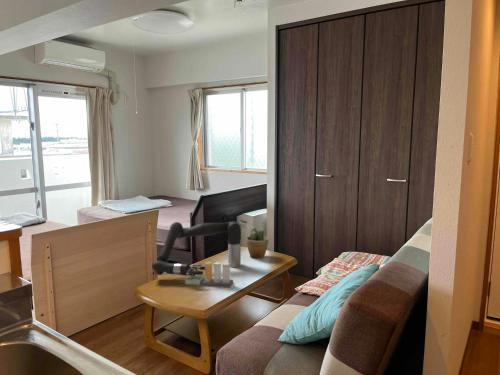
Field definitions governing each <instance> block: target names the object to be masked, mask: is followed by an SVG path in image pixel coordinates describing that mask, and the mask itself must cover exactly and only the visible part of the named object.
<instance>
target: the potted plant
mask: <svg viewBox="0 0 500 375" xmlns="http://www.w3.org/2000/svg"><path fill="white" fill-rule="evenodd" d="M264 234H265V229H264V228H262V227H261V228H259V230H257V227H256V226H252V227H251V228H250V236H246V238H245V241H246V242H245V243H246V246H247V250H248V253H249V257H250V259H253V260H262V259H264V258H265V255H266V253H267V248H268V245H269V240H270V239H269V237H268V236H266V235H265V236H264Z"/></svg>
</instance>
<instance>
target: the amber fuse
mask: <svg viewBox="0 0 500 375" xmlns="http://www.w3.org/2000/svg"><path fill="white" fill-rule="evenodd" d="M204 267H205V270H204V276H205V279H206V278H207V279H210V282H211V281H212V278H213V262H212V261H205V263H204Z"/></svg>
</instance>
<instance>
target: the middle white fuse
mask: <svg viewBox="0 0 500 375" xmlns="http://www.w3.org/2000/svg"><path fill="white" fill-rule="evenodd" d="M213 278H214V279H219V282H220V281H221V279H222V263H221V262H217V261H216V262H214V263H213Z"/></svg>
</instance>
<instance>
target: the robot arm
mask: <svg viewBox="0 0 500 375" xmlns="http://www.w3.org/2000/svg"><path fill="white" fill-rule="evenodd" d="M221 233H222V234H223V233H227V234H228V237H227V238H228V239H227V245H228V246H227V250H228V253H227V255H228V256H227V257H228V258H227V259H228V260H227V261H228V263H230V268H240V267H241V265H242V263H241V254H242V253H241V252H242V250H241V239H242V228H241V225H240V224H239V222H237V221H226V222H204V223H202V222H201V223H198V224H196V225H193V226H190V227H183V224H182V223H181V222H178V221H175V222H173V223H171V225H170V227H169V230H168V234H167V236H166V239H165V242H164V244H163V246H162V248H161V250H160V252H159V255H158V260H155V261H154V262H153V263H152V264H151V268H152V270H153V272H154V273H155V275H157V276H161V275H163V274H164V273H166V274H167V275H175V276H176V275H177V276H195V275H199V276H204V271H205V266H203V265H202V264H193V265H190V264H189V263H178V262H177V263H173V262H172V263H170V262H168V261H169V259H170V257H171V254H172V253H173V248H174V246H175V242H176V240H177V239H183V238H184V239H185V238H189V237H190V238H191V237H207V236H215V235H217V234H221Z"/></svg>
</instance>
